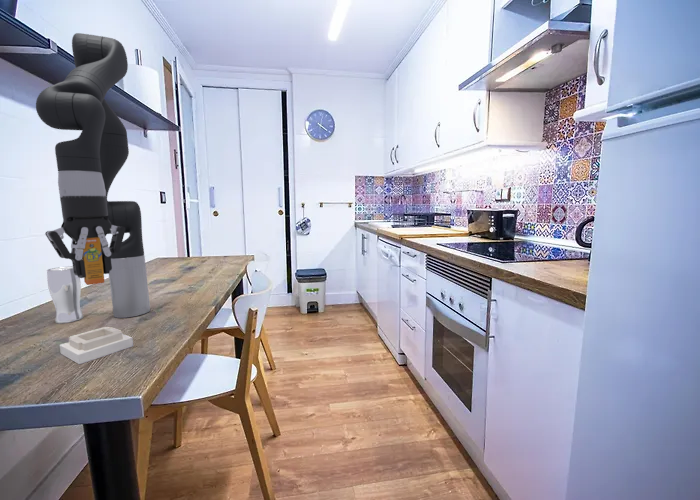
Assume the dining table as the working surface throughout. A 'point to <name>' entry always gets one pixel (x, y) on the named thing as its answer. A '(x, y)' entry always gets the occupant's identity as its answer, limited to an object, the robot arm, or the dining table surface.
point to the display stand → (95, 344)
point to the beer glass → (65, 293)
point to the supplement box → (93, 261)
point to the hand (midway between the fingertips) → (93, 275)
